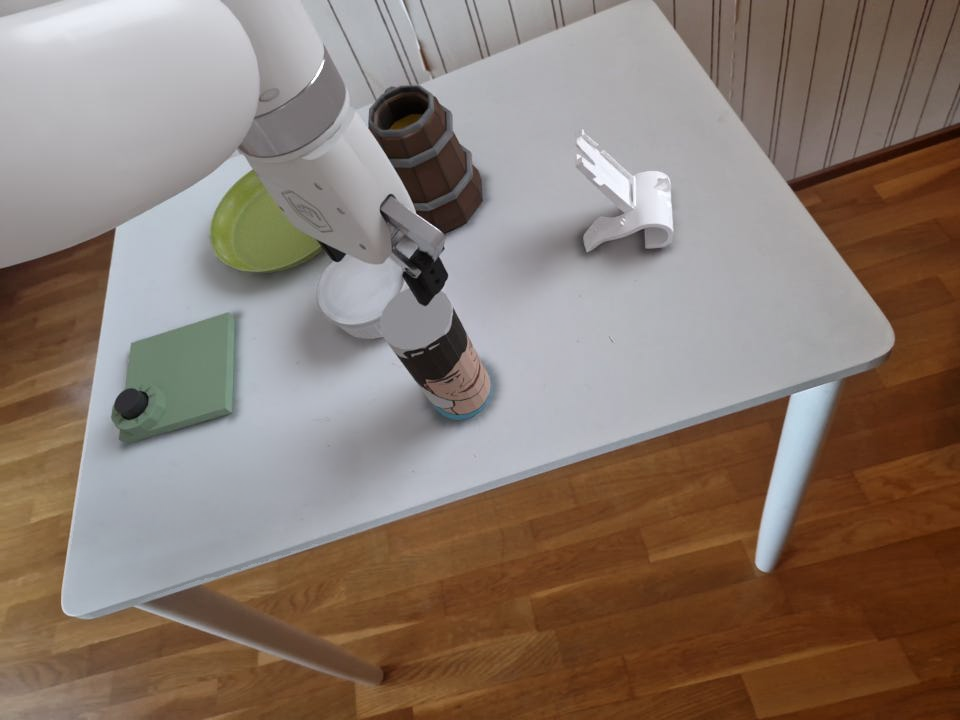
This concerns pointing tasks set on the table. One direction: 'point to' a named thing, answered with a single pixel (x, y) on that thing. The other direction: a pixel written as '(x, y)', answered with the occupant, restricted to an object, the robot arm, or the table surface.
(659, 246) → the plastic part
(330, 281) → the ramekin
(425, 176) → the mug
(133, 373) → the scale
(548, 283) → the table surface
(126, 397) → the button
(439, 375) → the cup
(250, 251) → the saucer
